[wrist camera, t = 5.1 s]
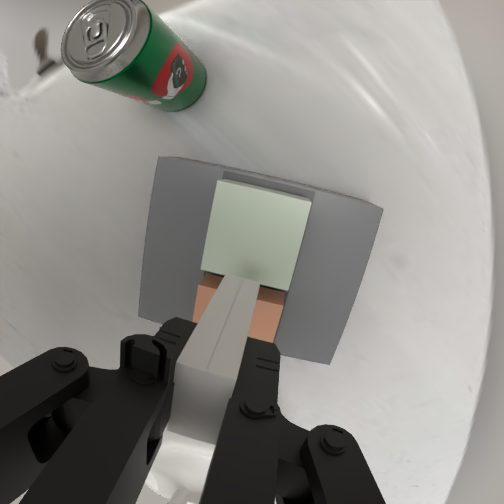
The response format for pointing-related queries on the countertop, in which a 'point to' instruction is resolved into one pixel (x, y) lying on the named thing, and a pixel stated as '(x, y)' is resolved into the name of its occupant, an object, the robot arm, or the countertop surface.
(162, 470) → the white floating cup sculpture
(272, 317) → the rust key
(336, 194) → the button panel
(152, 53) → the soda can
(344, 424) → the countertop surface
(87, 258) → the countertop surface
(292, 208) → the sage key
